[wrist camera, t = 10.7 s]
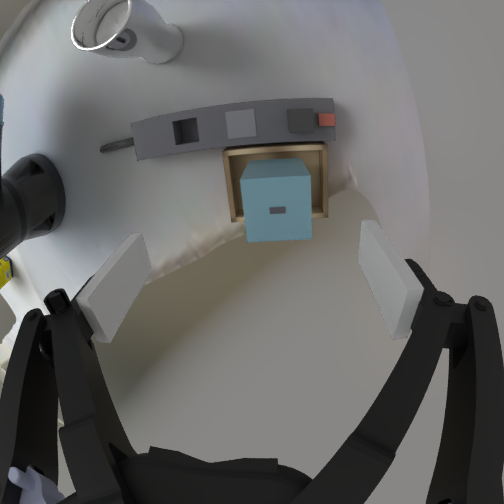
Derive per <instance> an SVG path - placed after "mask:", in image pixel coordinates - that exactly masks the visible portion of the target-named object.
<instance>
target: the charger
mask: <svg viewBox="0 0 504 504" xmlns="http://www.w3.org/2000/svg"><path fill="white" fill-rule="evenodd" d="M240 185H241V193H242V202H243V210H244V219H245V227H246V236H247V242H261V241H282V240H301V239H302V240H303V239H312V210H311V175H310V174H309V172H308V170H307V168H306V166H305V164H304V162H303V160H302V159H301V158H284V159H267V160H254V161H249V162H248V164H247V166H246V168H245V170H244V172H243V174H242V177H241V179H240Z"/></svg>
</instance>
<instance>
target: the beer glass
mask: <svg viewBox="0 0 504 504" xmlns="http://www.w3.org/2000/svg"><path fill="white" fill-rule="evenodd" d="M71 38H72V41H73V43H74V45H75V46H76V47H77V48H78V49H80V50H83V51H88V52H91V53H95V54H98V55H102V56H106V57H112V58H137V57H142V58H143V59H144V60H146V61H147V62H149V63H152V64H162V63H166V62H168V61H170V60H172V59H173V58H174V57H175V56H176V55H177V54H178V53H179V52H180V50H181V48H182V45H183V35H182V32H181V31H180V29H179V28H177V27H176V26H174V25H171V24H167V23H165V22H164V20H163V19H162V17H161V16H160V14H159V13H158V11H157V10H156V9H155V8H154V7H153V6H152V5H151V4H149V3H148V2H147V1H145V0H87V1H86V2H85V3H84V4H83V5H82V6H81V8H80V9H79V10H78V12H77V14H76V15H75V18H74V20H73V23H72V27H71Z"/></svg>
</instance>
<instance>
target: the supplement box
mask: <svg viewBox="0 0 504 504" xmlns="http://www.w3.org/2000/svg"><path fill="white" fill-rule="evenodd" d="M12 277H13V271H12V264H11V259H10V258H8V257H7V256H4V257H3V258H2V259H1V260H0V289H1V288H2V287H3V286H4V285H5V284H6V283H7V282H8V281H9V280H10V279H11V278H12Z"/></svg>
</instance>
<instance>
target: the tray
mask: <svg viewBox="0 0 504 504" xmlns="http://www.w3.org/2000/svg"><path fill="white" fill-rule="evenodd" d="M222 154H223V161H224V169H225V177H226V184H227V192H228V199H229V207H230V214H231V221H232V222H245V219H244V210H243V202H242V193H241V185H240V179H241V177H242V174H243V172H244V170H245V168H246V166H247V164H248V162H249V161H254V160H267V159H284V158H301V159H302V160H303V162H304V164H305V166H306V168H307V170H308V172H309V174H310V175H311V210H312V218H325V217H326V218H327V217H328V155H327V144H325V143H324V142H322V141H321V142H289V143H271V144H257V145H246V146H235V147H227V148H226V149H225V150H223V151H222Z"/></svg>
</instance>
